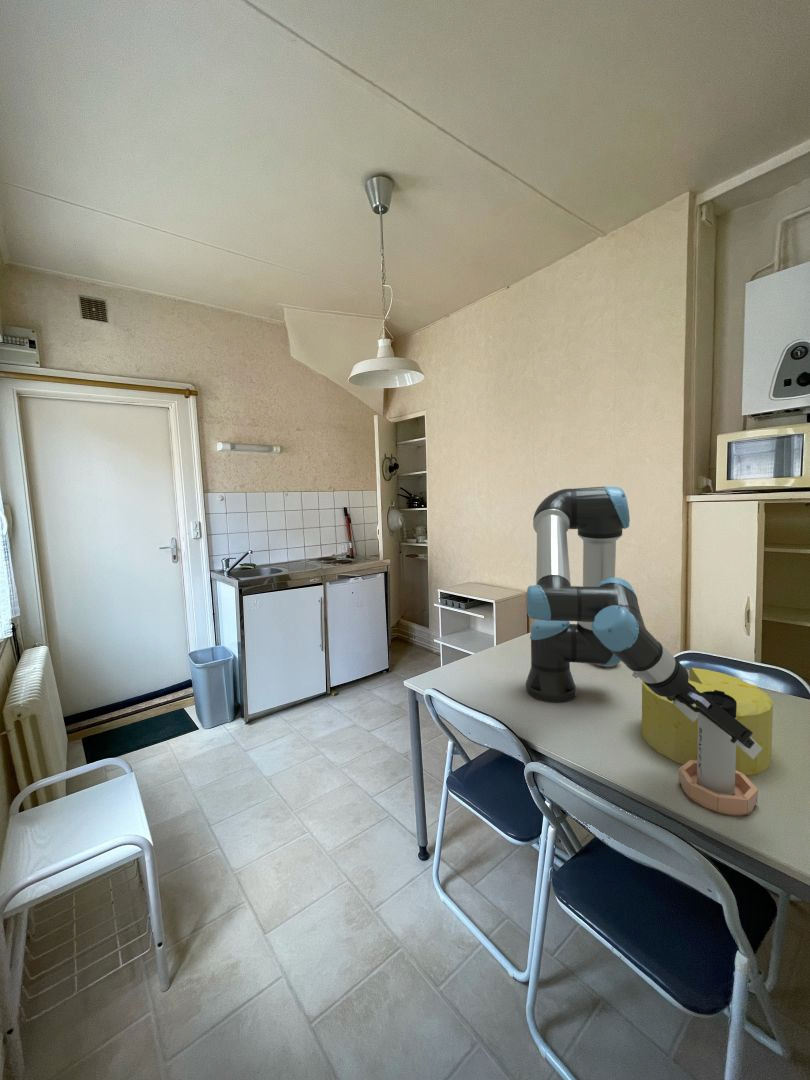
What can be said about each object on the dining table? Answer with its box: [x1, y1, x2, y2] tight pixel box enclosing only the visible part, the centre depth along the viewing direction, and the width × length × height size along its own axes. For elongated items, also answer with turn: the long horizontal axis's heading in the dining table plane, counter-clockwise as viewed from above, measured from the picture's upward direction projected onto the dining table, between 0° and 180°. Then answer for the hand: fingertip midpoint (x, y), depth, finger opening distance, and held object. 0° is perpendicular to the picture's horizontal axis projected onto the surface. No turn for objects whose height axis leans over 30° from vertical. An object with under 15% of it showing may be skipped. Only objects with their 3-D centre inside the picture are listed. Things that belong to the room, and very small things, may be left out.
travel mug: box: [697, 690, 737, 796], centre depth 87 cm, size 6×7×20 cm
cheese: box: [641, 667, 774, 777], centre depth 105 cm, size 26×26×15 cm
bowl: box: [678, 760, 759, 817], centre depth 87 cm, size 12×12×3 cm
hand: (724, 733), depth 86 cm, fingers open, 13 cm apart
